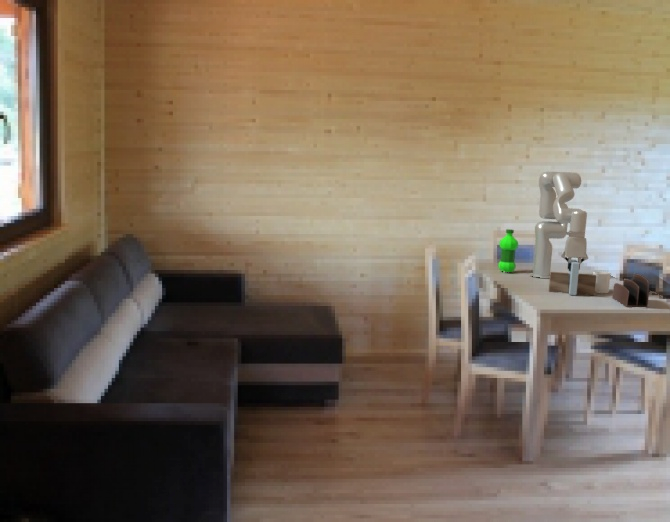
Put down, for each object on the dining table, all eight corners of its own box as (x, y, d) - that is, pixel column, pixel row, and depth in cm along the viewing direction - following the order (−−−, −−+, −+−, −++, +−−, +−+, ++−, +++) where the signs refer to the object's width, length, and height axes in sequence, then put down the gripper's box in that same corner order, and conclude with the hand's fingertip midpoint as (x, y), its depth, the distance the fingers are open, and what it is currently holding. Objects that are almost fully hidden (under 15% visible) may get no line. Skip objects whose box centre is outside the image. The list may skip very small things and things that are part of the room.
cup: (596, 293, 360) (598, 273, 358) (585, 288, 371) (587, 269, 370) (611, 293, 361) (613, 274, 359) (600, 288, 372) (602, 269, 371)
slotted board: (548, 290, 361) (550, 271, 360) (593, 294, 358) (595, 274, 356) (549, 291, 359) (551, 272, 357) (594, 295, 355) (596, 275, 353)
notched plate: (566, 289, 365) (569, 258, 362) (572, 289, 365) (575, 259, 362) (570, 294, 352) (573, 263, 349) (576, 295, 351) (579, 263, 348)
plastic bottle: (494, 272, 409) (498, 229, 405) (502, 270, 417) (505, 228, 413) (510, 274, 403) (514, 231, 399) (518, 272, 411) (521, 230, 407)
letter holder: (632, 299, 349) (635, 271, 347) (647, 308, 330) (651, 279, 327) (611, 298, 350) (614, 270, 347) (626, 307, 330) (629, 278, 328)
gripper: (561, 234, 351) (557, 271, 354) (595, 237, 348) (591, 273, 351) (559, 233, 358) (555, 268, 361) (592, 235, 355) (589, 270, 358)
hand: (573, 270), depth 356 cm, fingers closed on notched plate, 3 cm apart
